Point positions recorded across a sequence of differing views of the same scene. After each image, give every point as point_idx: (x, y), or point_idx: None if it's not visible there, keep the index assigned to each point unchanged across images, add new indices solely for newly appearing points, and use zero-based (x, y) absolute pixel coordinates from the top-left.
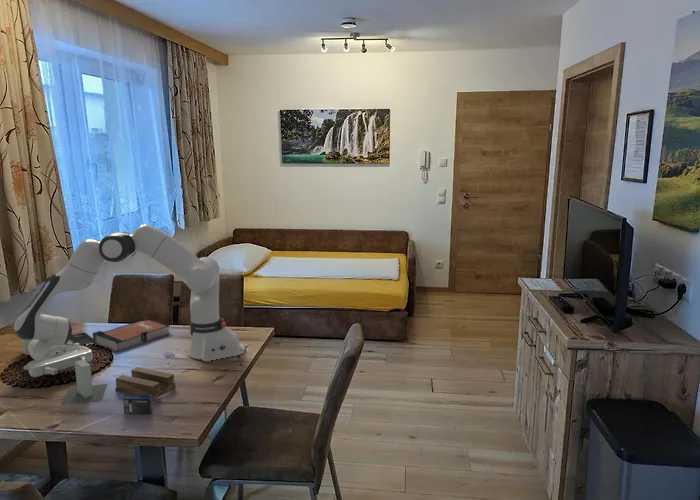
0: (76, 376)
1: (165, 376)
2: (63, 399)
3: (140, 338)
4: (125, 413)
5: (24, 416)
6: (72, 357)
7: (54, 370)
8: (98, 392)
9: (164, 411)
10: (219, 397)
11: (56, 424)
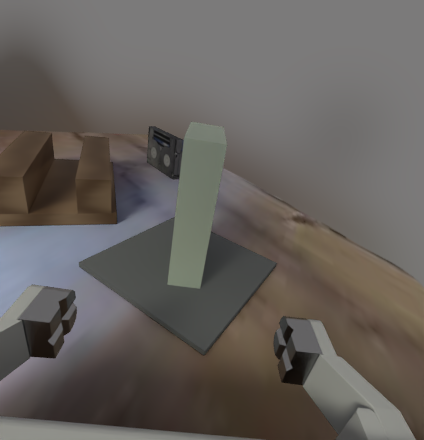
0: (212, 219)
1: (45, 135)
2: (260, 281)
3: None
4: (179, 177)
5: (381, 290)
6: (29, 419)
7: (303, 319)
8: (154, 241)
9: (136, 155)
10: (54, 133)
11: (297, 221)
